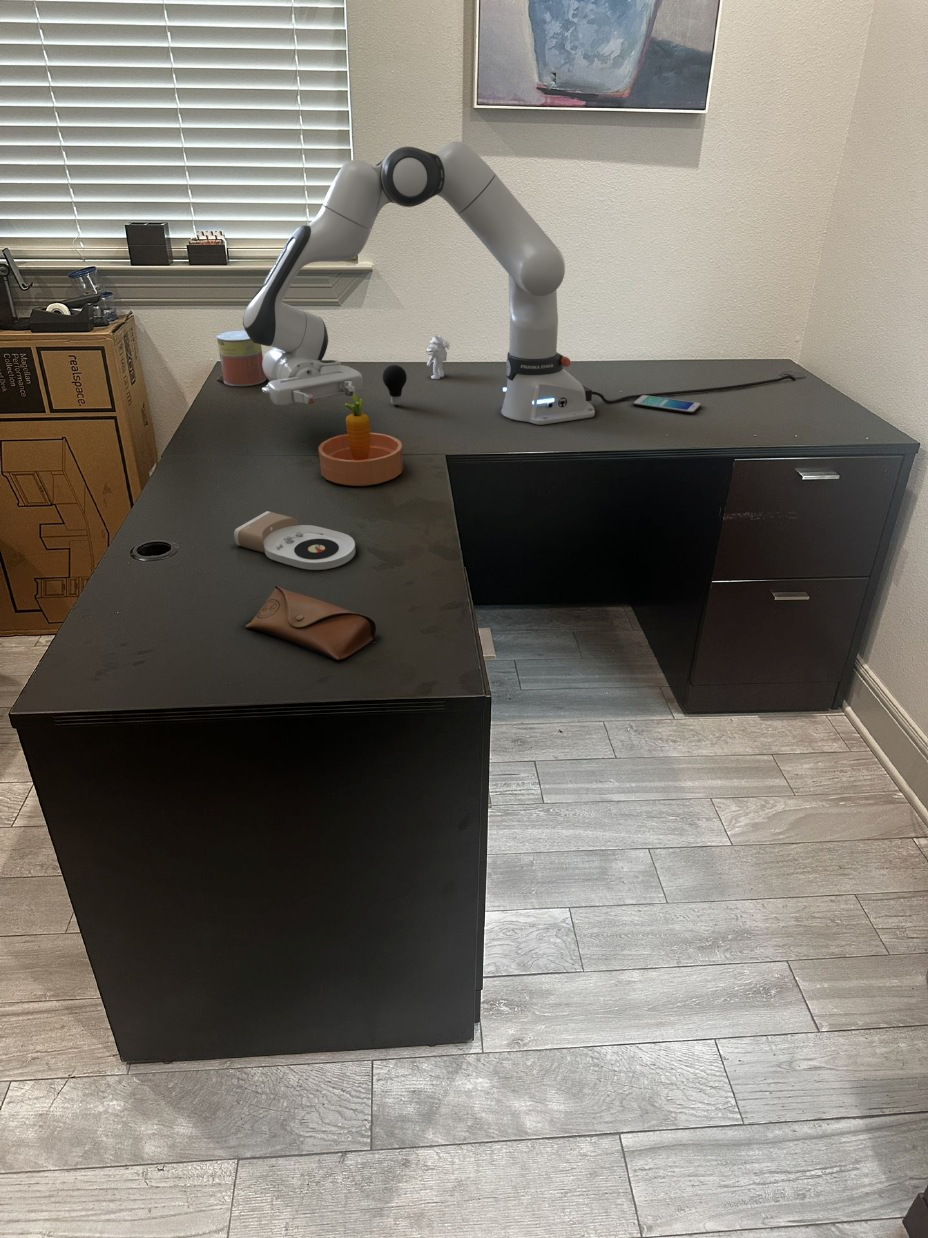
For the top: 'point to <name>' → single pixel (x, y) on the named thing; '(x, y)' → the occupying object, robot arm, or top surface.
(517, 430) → the top surface
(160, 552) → the top surface
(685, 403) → the smartphone
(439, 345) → the hat wearing toy figure
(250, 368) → the canned food
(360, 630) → the sunglasses case
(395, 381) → the light bulb
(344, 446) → the pot
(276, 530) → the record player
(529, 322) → the robot arm
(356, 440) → the carrot
